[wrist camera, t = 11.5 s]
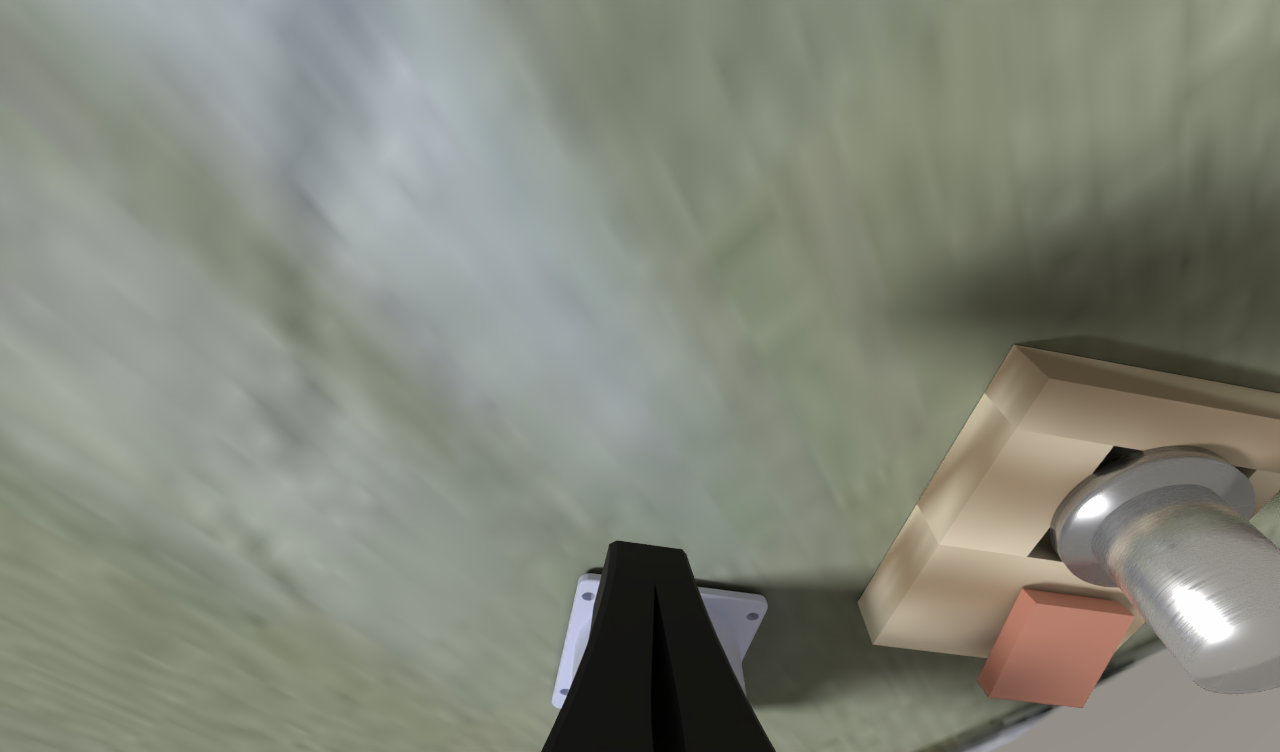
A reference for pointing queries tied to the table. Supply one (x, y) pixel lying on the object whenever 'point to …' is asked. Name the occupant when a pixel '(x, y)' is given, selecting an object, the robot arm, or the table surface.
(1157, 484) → the silver knob
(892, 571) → the hitch block
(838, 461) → the table surface
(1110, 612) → the latch tab
